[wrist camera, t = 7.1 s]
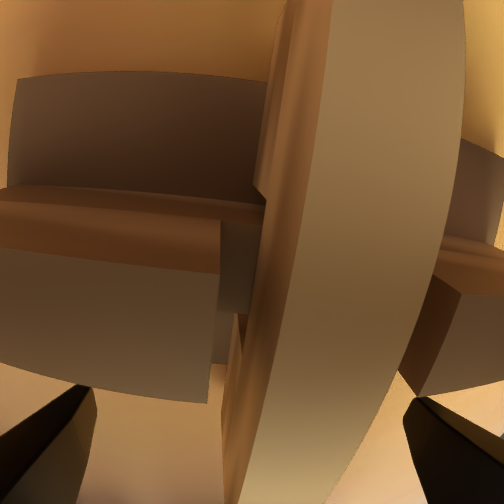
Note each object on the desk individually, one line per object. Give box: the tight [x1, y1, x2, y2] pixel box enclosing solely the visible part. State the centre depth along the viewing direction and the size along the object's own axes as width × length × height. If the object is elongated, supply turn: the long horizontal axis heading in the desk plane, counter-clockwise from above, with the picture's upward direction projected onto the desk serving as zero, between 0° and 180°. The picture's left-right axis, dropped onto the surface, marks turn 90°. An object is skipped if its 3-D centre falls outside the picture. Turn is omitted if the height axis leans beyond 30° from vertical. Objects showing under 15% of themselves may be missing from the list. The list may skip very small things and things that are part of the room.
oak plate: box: [221, 0, 465, 504], centre depth 6 cm, size 12×2×5 cm, turn 172°
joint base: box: [0, 71, 504, 404], centre depth 7 cm, size 8×16×6 cm, turn 82°
